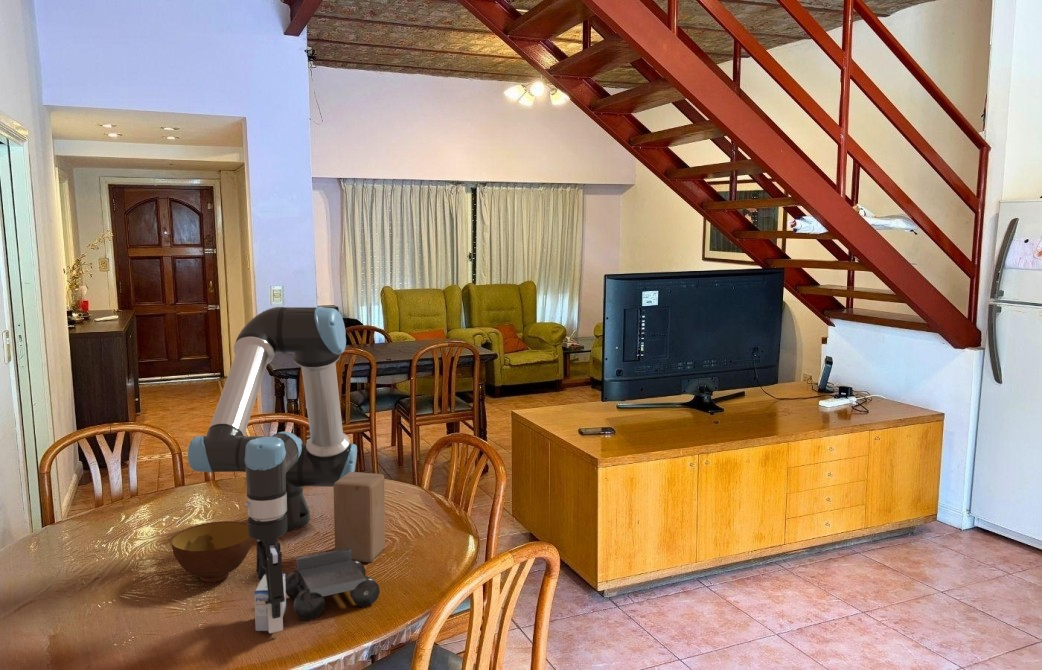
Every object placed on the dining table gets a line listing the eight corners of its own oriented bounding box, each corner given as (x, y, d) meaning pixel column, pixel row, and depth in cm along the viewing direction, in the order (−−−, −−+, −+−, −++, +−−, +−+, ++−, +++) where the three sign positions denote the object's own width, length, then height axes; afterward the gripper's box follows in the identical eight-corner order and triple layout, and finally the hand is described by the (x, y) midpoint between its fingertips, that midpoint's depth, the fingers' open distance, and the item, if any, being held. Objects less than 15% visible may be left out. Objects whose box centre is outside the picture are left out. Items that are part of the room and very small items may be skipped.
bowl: (246, 590, 169) (244, 548, 167) (163, 596, 166) (161, 553, 165) (260, 557, 186) (258, 519, 185) (185, 562, 183) (183, 523, 182)
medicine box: (265, 612, 157) (263, 573, 156) (286, 611, 158) (285, 572, 156) (255, 631, 149) (253, 590, 148) (278, 630, 150) (276, 590, 149)
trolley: (283, 598, 165) (282, 560, 164) (363, 581, 174) (362, 544, 173) (296, 623, 155) (294, 582, 154) (379, 603, 164) (379, 564, 162)
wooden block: (371, 564, 183) (370, 485, 180) (333, 560, 185) (331, 482, 182) (386, 548, 193) (385, 473, 190) (350, 544, 195) (349, 470, 192)
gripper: (239, 501, 158) (243, 601, 161) (257, 537, 139) (261, 650, 142) (275, 495, 162) (279, 594, 164) (298, 530, 143) (301, 640, 146)
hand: (271, 620), depth 153 cm, fingers closed on medicine box, 9 cm apart
